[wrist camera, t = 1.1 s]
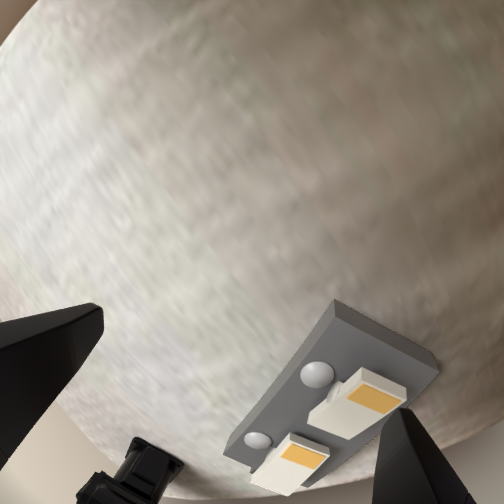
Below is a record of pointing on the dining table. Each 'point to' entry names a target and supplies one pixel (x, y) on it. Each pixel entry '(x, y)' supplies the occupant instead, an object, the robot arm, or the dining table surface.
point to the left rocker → (290, 464)
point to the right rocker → (357, 404)
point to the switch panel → (329, 387)
